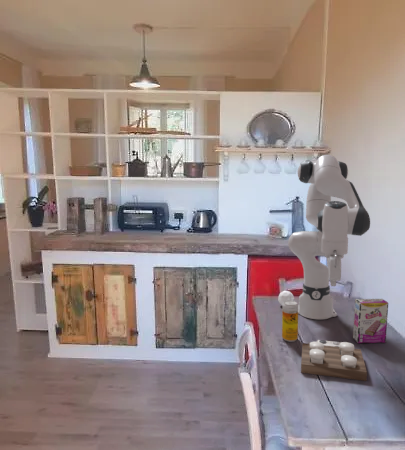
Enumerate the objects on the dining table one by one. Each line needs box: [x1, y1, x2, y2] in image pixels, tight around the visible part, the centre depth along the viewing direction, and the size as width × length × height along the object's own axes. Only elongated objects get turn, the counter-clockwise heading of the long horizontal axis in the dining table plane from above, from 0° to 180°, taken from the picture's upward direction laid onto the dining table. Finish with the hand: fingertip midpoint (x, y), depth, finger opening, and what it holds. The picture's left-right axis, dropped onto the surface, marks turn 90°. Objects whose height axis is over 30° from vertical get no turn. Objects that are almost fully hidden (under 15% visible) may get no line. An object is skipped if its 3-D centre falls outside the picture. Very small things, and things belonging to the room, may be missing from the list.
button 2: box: [339, 341, 355, 356], centre depth 129 cm, size 5×5×4 cm
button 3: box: [310, 349, 325, 364], centre depth 125 cm, size 5×5×4 cm
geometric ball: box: [277, 290, 295, 306], centre depth 185 cm, size 8×8×8 cm
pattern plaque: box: [316, 339, 342, 347], centre depth 141 cm, size 7×9×1 cm
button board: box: [300, 342, 368, 382], centre depth 127 cm, size 16×20×3 cm
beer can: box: [281, 300, 299, 343], centre depth 147 cm, size 6×6×15 cm
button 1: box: [309, 341, 324, 351], centre depth 132 cm, size 5×5×4 cm
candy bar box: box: [352, 298, 389, 344], centre depth 144 cm, size 11×5×16 cm, turn 92°
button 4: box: [341, 355, 357, 368], centre depth 122 cm, size 5×5×4 cm
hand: (333, 285), depth 134 cm, fingers closed
